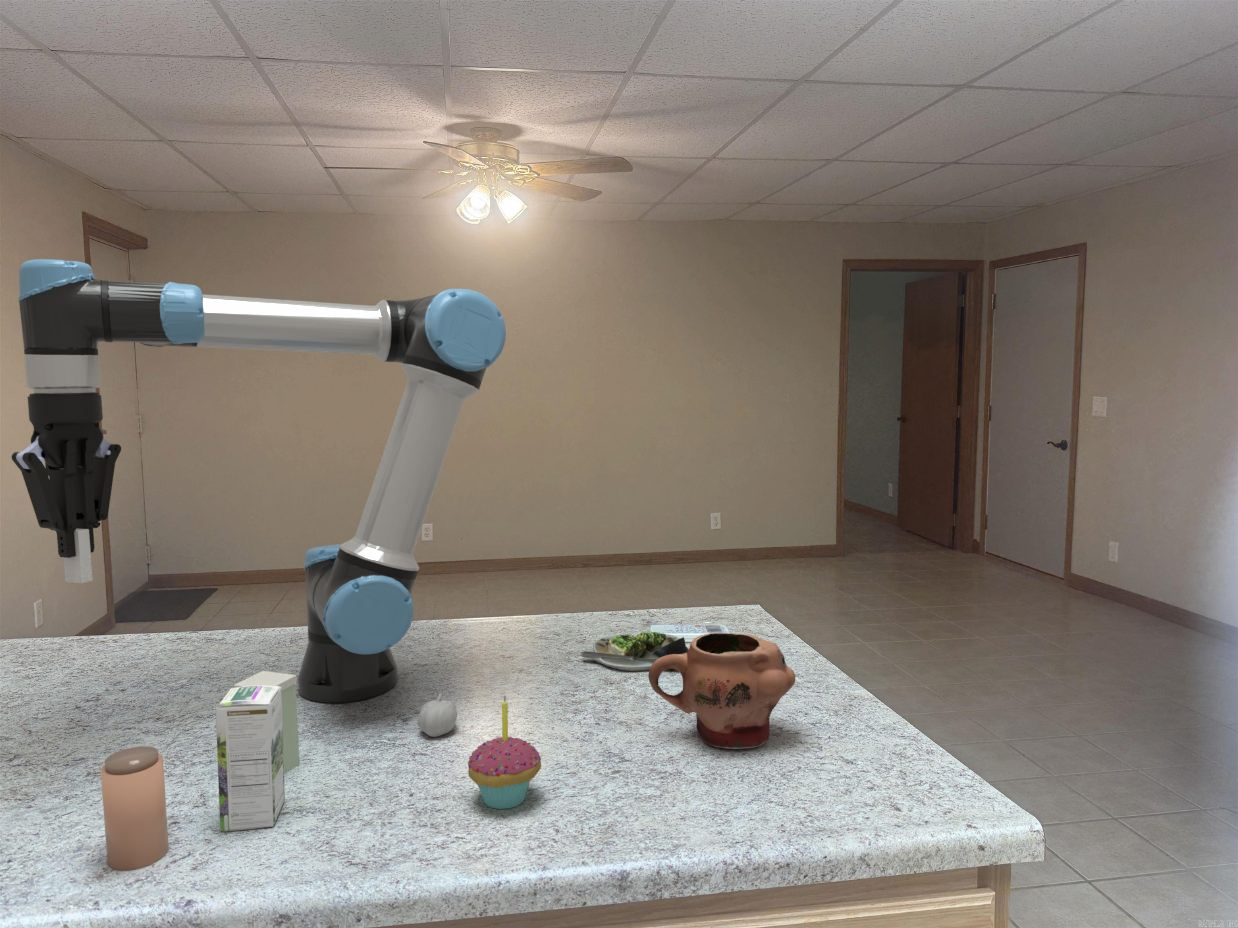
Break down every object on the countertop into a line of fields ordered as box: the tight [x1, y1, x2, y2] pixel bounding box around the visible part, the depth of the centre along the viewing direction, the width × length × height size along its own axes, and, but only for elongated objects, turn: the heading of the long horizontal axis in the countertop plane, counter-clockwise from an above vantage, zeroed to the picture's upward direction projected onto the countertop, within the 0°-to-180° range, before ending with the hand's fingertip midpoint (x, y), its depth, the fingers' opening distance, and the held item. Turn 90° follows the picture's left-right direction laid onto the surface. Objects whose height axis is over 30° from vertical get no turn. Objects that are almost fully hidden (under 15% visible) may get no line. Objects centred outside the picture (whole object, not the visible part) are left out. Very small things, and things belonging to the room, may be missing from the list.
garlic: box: [417, 693, 458, 738], centre depth 118 cm, size 6×5×5 cm
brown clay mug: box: [647, 632, 796, 750], centre depth 115 cm, size 20×12×14 cm, turn 97°
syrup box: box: [215, 685, 286, 832], centre depth 95 cm, size 6×6×14 cm
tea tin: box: [232, 670, 300, 774], centre depth 106 cm, size 5×5×12 cm
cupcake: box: [467, 694, 542, 810], centre depth 99 cm, size 9×8×12 cm
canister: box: [100, 745, 170, 872], centre depth 88 cm, size 6×6×11 cm
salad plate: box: [580, 631, 689, 672], centre depth 148 cm, size 19×18×5 cm
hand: (79, 580), depth 105 cm, fingers closed
